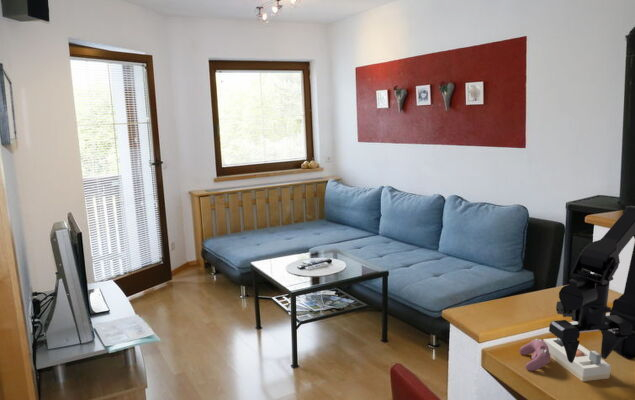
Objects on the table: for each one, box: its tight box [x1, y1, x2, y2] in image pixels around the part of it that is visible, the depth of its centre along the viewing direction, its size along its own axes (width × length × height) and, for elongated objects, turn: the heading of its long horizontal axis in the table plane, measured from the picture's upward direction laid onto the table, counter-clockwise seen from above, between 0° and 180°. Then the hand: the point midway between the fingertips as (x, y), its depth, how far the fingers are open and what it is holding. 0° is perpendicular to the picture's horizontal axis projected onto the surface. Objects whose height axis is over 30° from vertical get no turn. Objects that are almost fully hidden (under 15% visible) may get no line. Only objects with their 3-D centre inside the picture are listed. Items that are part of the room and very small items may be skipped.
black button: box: [556, 336, 564, 347], centre depth 134 cm, size 3×3×2 cm
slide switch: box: [589, 350, 602, 365], centre depth 124 cm, size 1×2×4 cm, turn 11°
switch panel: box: [542, 337, 612, 382], centre depth 130 cm, size 8×16×3 cm, turn 11°
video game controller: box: [519, 338, 551, 372], centre depth 130 cm, size 10×5×7 cm, turn 169°
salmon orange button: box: [575, 350, 584, 357], centre depth 129 cm, size 3×3×2 cm
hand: (587, 360), depth 124 cm, fingers open, 9 cm apart
